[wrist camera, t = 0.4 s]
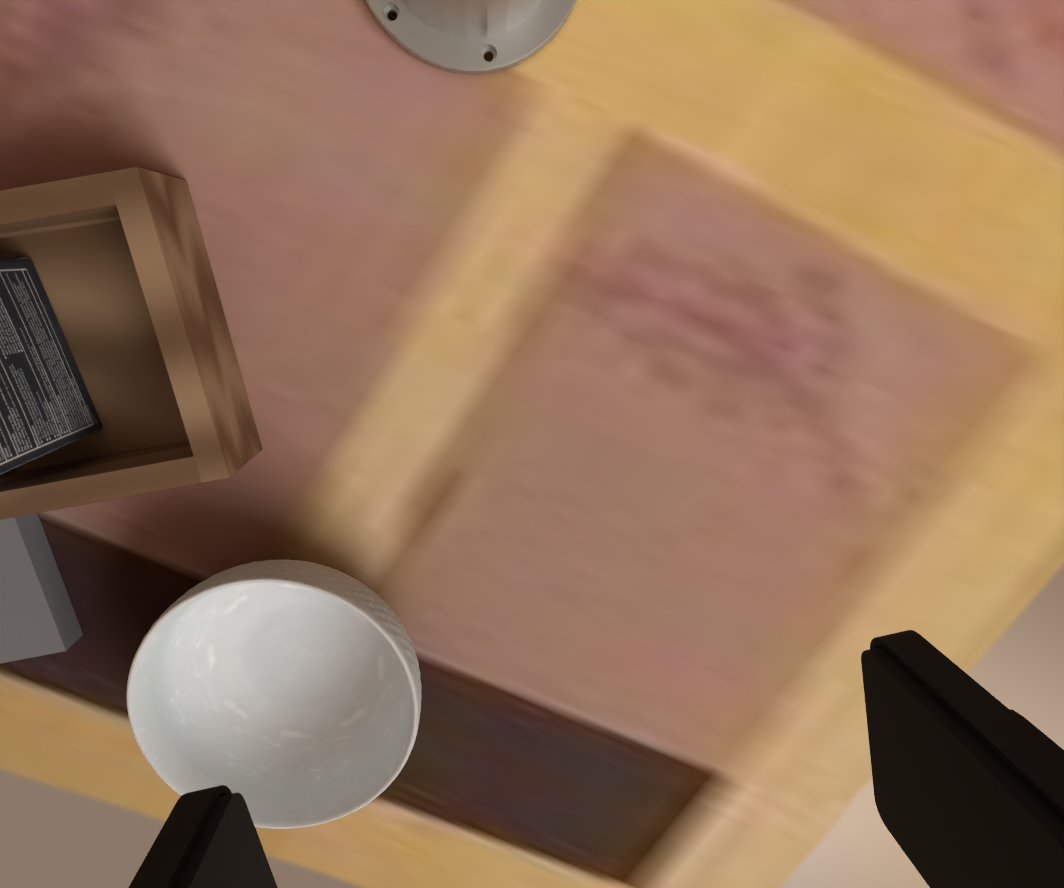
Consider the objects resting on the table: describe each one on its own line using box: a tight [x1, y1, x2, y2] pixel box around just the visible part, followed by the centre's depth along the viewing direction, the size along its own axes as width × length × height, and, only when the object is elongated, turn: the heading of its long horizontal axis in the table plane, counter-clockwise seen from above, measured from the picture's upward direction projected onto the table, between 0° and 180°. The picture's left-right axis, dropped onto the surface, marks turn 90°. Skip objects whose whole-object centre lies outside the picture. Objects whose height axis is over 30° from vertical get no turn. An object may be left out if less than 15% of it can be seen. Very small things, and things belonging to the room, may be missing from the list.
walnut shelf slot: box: [0, 167, 262, 520], centre depth 39 cm, size 16×14×6 cm
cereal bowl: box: [127, 559, 422, 829], centre depth 44 cm, size 17×17×7 cm
